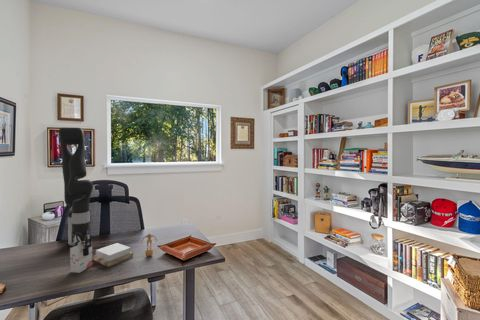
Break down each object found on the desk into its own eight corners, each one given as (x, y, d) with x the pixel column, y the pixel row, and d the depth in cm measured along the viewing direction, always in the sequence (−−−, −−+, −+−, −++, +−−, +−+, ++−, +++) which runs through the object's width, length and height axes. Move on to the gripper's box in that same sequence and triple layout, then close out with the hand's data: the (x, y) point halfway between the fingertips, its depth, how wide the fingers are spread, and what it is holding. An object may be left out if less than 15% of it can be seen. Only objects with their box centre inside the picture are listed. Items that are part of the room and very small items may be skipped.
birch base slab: (93, 261, 132) (93, 255, 132) (117, 252, 144) (117, 247, 143) (108, 268, 124) (108, 262, 124) (133, 258, 136) (133, 252, 136)
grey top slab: (95, 255, 132) (95, 250, 131) (117, 248, 142) (117, 242, 142) (109, 261, 126) (109, 255, 125) (130, 252, 136) (130, 247, 136)
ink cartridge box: (84, 264, 127) (84, 235, 126) (92, 265, 126) (92, 236, 125) (69, 272, 118) (69, 242, 118) (78, 273, 117) (78, 243, 117)
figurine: (140, 258, 134) (140, 236, 133) (141, 253, 140) (141, 232, 139) (157, 256, 137) (157, 235, 136) (157, 252, 142) (157, 231, 142)
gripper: (65, 220, 121) (65, 252, 122) (80, 225, 114) (80, 259, 115) (81, 216, 128) (82, 247, 129) (96, 221, 120) (97, 254, 121)
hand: (81, 253), depth 122 cm, fingers open, 8 cm apart
